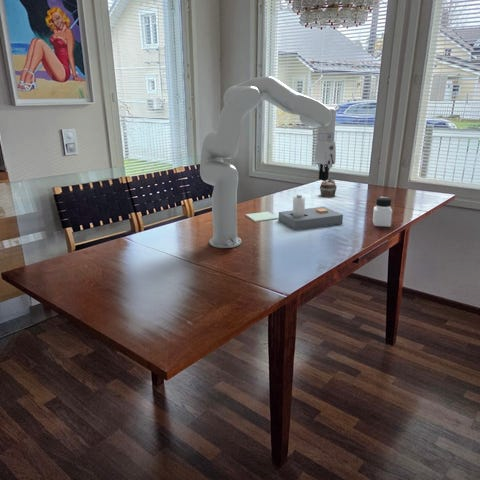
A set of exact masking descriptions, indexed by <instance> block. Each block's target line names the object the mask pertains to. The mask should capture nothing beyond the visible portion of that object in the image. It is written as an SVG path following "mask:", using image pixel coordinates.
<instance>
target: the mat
mask: <svg viewBox="0 0 480 480" xmlns="http://www.w3.org/2000/svg"><path fill="white" fill-rule="evenodd" d="M245 216H246V217H247V218H249V219H250V220H252V221H253V222H254V223H257V222H259V223H260V222H265V221H266V222H267V221H271V220H272V221H273V220H279V216H276V215H274V214H273V213H271V212H270V211H262V212H255V213H253V212H252V213H245Z"/></svg>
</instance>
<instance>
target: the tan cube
mask: <svg viewBox="0 0 480 480" xmlns="http://www.w3.org/2000/svg"><path fill="white" fill-rule="evenodd" d="M316 212H317V213H320V214H322V213H328V210H326V209H323V208H322V209H316Z"/></svg>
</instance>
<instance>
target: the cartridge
mask: <svg viewBox="0 0 480 480" xmlns="http://www.w3.org/2000/svg"><path fill="white" fill-rule="evenodd" d="M305 207H306V197H305V196H303V195H302V194H296V195H295V196H293V198H292V210H293V216H294V217H295V218H296V217H304V215H305V209H306V208H305Z"/></svg>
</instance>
